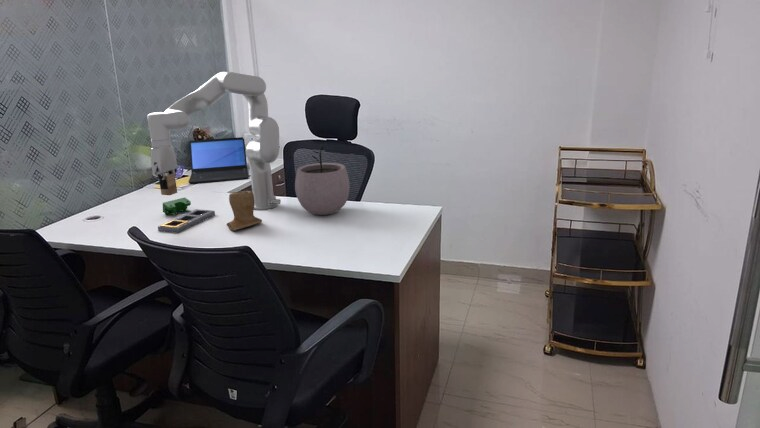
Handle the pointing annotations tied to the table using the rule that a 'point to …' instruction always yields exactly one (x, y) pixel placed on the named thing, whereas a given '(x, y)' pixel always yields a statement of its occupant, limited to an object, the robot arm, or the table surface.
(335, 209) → the plant pot
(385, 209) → the table surface
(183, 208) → the green toy truck
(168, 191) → the peg
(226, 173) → the laptop
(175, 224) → the grey slotted board
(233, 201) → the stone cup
